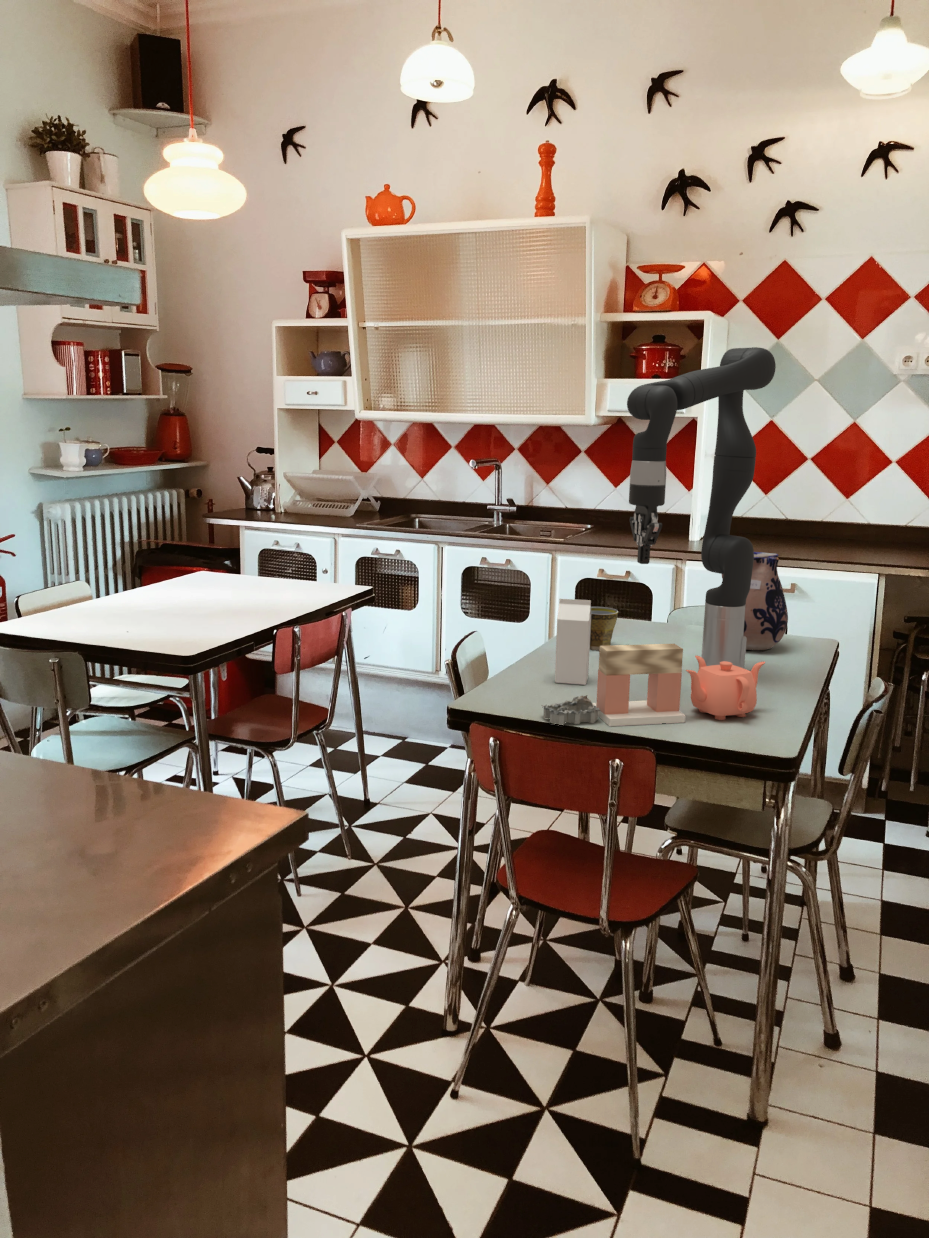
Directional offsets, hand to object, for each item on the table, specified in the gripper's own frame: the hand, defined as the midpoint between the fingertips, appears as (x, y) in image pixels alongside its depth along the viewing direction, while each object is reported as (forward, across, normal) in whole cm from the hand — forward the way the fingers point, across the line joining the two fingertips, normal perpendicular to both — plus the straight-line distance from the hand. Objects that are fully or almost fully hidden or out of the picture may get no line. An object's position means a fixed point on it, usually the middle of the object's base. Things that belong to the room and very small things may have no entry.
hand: (643, 563), depth 211 cm
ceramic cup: (+29, +43, -5) cm, 52 cm away
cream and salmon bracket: (+29, -16, +6) cm, 34 cm away
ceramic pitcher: (+29, +38, -46) cm, 66 cm away
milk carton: (+29, +12, +11) cm, 33 cm away
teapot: (+29, -16, -12) cm, 35 cm away
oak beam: (+20, -16, +6) cm, 26 cm away
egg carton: (+30, -16, +20) cm, 39 cm away
